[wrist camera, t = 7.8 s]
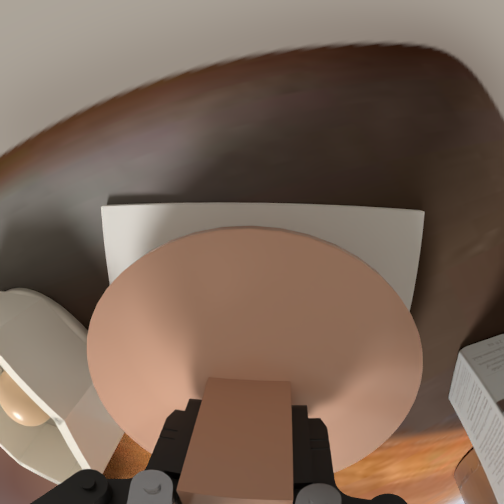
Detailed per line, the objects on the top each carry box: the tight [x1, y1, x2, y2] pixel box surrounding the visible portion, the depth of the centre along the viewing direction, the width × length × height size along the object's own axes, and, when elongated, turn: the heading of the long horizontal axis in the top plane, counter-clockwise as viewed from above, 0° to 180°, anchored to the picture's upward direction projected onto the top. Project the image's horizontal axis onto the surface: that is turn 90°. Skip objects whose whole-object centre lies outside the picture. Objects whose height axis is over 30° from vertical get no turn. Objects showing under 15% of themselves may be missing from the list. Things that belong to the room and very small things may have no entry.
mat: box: [101, 202, 425, 312], centre depth 15 cm, size 15×15×1 cm
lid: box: [87, 226, 423, 504], centre depth 9 cm, size 14×14×6 cm
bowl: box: [0, 288, 124, 485], centre depth 15 cm, size 13×13×6 cm
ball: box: [0, 370, 50, 426], centre depth 15 cm, size 4×4×4 cm
